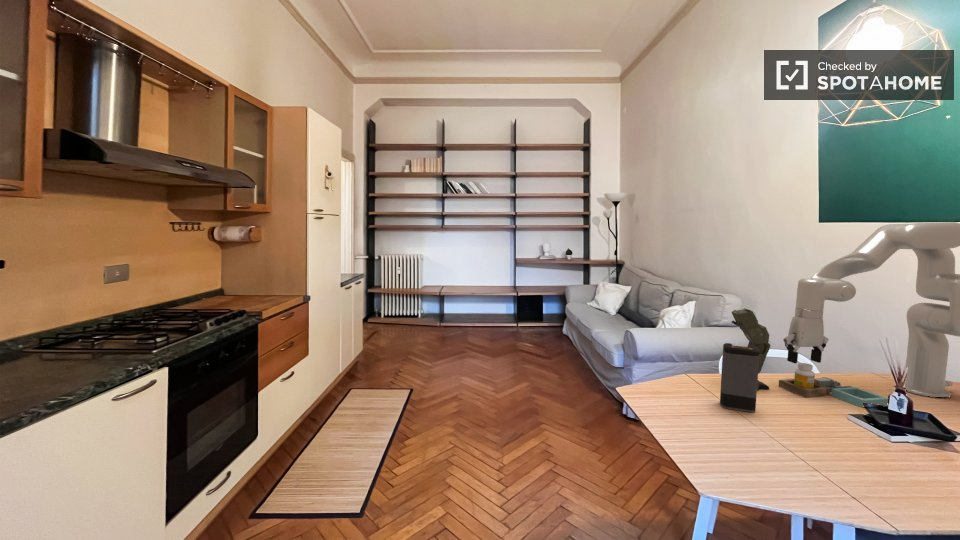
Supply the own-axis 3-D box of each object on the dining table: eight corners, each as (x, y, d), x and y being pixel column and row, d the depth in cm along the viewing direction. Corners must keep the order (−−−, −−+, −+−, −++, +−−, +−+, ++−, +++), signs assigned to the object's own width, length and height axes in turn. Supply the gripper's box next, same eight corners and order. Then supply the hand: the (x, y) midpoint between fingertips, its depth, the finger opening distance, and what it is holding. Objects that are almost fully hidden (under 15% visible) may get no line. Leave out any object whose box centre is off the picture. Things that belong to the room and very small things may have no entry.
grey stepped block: (823, 384, 145) (824, 376, 144) (836, 389, 140) (837, 381, 140) (809, 385, 144) (810, 377, 143) (822, 390, 139) (822, 382, 139)
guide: (837, 385, 146) (837, 381, 146) (851, 390, 141) (851, 386, 141) (809, 387, 144) (810, 383, 144) (823, 392, 139) (823, 388, 139)
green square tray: (854, 393, 138) (855, 386, 138) (888, 406, 129) (889, 398, 128) (830, 395, 137) (831, 388, 137) (863, 408, 127) (863, 400, 127)
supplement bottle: (789, 388, 143) (791, 362, 142) (803, 388, 144) (805, 361, 143) (803, 394, 138) (805, 367, 137) (817, 393, 138) (819, 366, 137)
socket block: (801, 385, 146) (802, 378, 146) (829, 395, 137) (830, 388, 136) (778, 386, 145) (778, 379, 145) (804, 397, 135) (805, 390, 135)
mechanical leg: (770, 381, 148) (754, 303, 146) (782, 388, 140) (766, 307, 139) (731, 388, 149) (715, 311, 147) (742, 396, 142) (725, 315, 140)
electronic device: (752, 406, 128) (756, 345, 126) (756, 413, 123) (760, 350, 121) (719, 401, 132) (722, 342, 130) (721, 408, 127) (725, 346, 125)
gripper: (818, 311, 143) (814, 358, 145) (777, 312, 141) (773, 359, 142) (840, 316, 136) (835, 364, 138) (797, 316, 133) (792, 366, 135)
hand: (803, 361), depth 140 cm, fingers open, 9 cm apart
